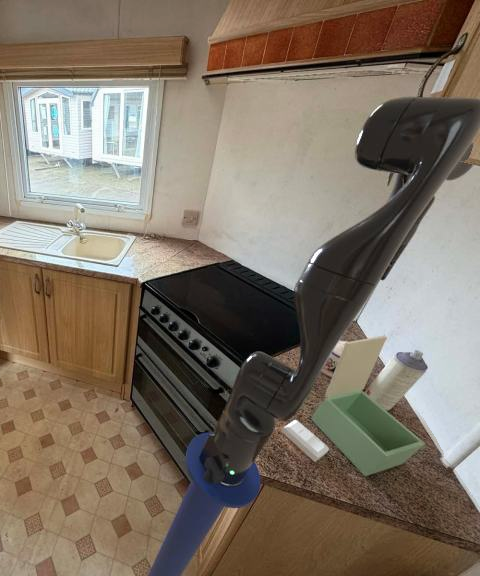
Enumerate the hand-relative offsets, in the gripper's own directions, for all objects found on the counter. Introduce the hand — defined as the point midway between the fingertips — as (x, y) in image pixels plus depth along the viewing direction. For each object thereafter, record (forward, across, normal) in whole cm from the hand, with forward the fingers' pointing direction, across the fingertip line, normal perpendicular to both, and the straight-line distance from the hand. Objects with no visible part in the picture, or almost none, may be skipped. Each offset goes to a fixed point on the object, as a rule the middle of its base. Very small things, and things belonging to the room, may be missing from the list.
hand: (351, 295), depth 78 cm
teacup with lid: (+33, -16, 0) cm, 36 cm away
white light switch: (+33, +15, +15) cm, 39 cm away
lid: (+15, +1, +10) cm, 18 cm away
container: (+33, +1, +19) cm, 38 cm away
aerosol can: (+33, -18, +12) cm, 39 cm away
